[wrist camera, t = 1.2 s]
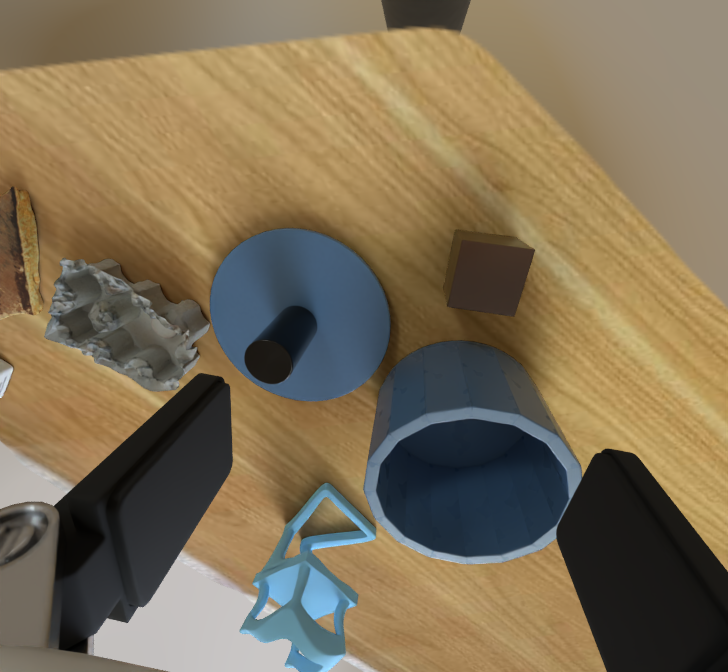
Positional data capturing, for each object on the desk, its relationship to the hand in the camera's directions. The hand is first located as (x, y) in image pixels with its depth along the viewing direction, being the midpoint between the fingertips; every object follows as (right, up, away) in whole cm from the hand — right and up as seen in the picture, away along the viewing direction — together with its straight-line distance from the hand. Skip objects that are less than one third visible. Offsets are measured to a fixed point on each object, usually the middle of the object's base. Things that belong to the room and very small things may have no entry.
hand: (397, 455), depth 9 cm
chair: (-5, -16, +28) cm, 32 cm away
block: (+7, +8, +15) cm, 18 cm away
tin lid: (-6, +4, +18) cm, 19 cm away
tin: (+7, -3, +20) cm, 21 cm away
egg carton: (-19, +5, +20) cm, 28 cm away
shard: (-30, +10, +20) cm, 37 cm away
